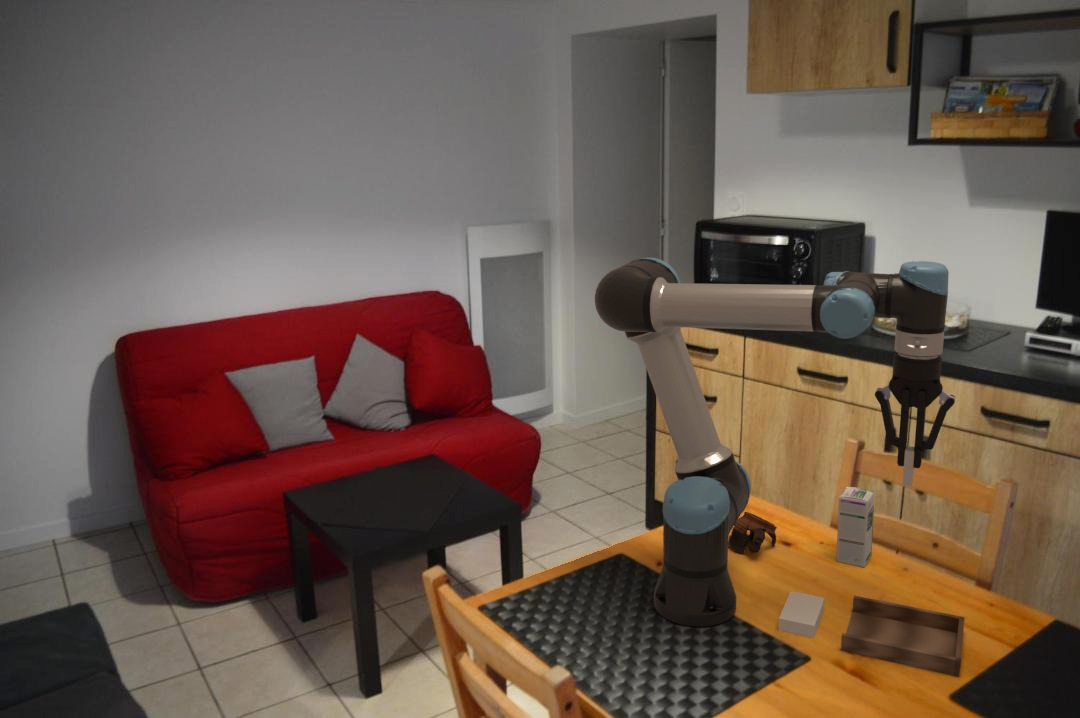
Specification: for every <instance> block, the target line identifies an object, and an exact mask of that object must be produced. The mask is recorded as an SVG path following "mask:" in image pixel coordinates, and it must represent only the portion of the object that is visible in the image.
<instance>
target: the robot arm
mask: <svg viewBox="0 0 1080 718" xmlns="http://www.w3.org/2000/svg"><path fill="white" fill-rule="evenodd" d="M899 268H900V269H899V271H898V273H896V272H895V273H875V272H874V273H873V272H872V273H871V272H854V271H850V270H845V271H831V272H829V273H827V274H826V276H825V279H824V281H823V285H822V284H821V285H815V284H814V285H813V284H761V283H760V284H757V283H756V284H750V283H747V284H744V283H743V284H742V283H684V282H683V283H681V280H680V277H679V276H678V273H677V272H676V270H675V269H674V268H673V266H671V265H670V264H669V263H667V262H666V261H664V260H662V259H659V258H656V257H641V258H637V259H633V260H632V261H629V262H627V263H625V264H624V265H621V266H619V267H617V268H614V269H613V270H610V271H609V272H608V273H606V274H605V275H604V276H603V277H602V278H601V280H600V281H599V283H598V284H597V286H596V290H595V293H594V305H595V310H596V312H597V315H598V316H599V318H600V319H601V321H603V322H604V323H605V324H606V325H607V326H608V327H610V328H612V329H613V330H616V331H618V332H619V331H621V332H624V333H625V334H624V335H625V336H626V339H628V340H630V341H631V342H633V343H636V344H637V346H638V348H639V349H638V350H639V351H640V354H641V357H642V360H643V363H644V366H645V369H646V371H647V374H648V376H649V380H650V382H651V384H652V385H651V386H652V388H653V390H654V393H655V397H656V399H657V401H658V404H659V406H660V409H661V413H662V415H663V418H664V420H665V424H666V426H667V429H668V431H669V435H670V437H671V440H672V443H673V446H674V449H675V451H676V454H677V457H678V459H677V461H676V463H675V465H674V471H675V475H676V478H677V480H676V481H674V482H672V483H671V484H670V485H669V486H668V487H667V488H666V490H665V492H664V495H663V496H664V497H663V503H662V515H663V517H662V519H663V520H662V521H663V523H662V524H663V529H662V530H663V533H662V535H663V541H662V542H663V545H662V546H663V549H662V550H663V555H662V556H663V560H662V561H663V564H662V568H661V571H660V574H659V577H658V579H657V582H656V584H655V588H654V591H653V606H654V608H655V611H656V612H657V613H658V614H659V615H660V616H662V617H663V618H664V619H666V620H668V621H671V622H672V623H674V624H675V623H676V624H679V625H681V626H686V627H687V626H688V627H699V628H700V627H701V628H702V627H703V628H704V627H710V626H711V627H712V626H716V625H719V624H723V623H725V622H726V621H729V620H730V619H731V618H733V616H734V615H735V614H736V610H737V594H736V591H735V588H734V586H733V582H732V579H731V576H730V573H729V569H728V558H729V557H728V555H729V554H728V553H729V546H728V540H729V536H730V534H731V532H732V529H733V527H734V524H735V523H736V521H737V520H738V519H739V518H740V517H741V515H742V514H743V513H744V512H745V509H746V507H747V505H748V503H749V501H750V500H749V499H750V496H751V491H752V486H751V485H752V484H751V479H750V476H749V473H748V471H747V470H746V468H744V466H743V465H742V464H741V463H740V462H738V461H736V458H735V456H734V454H733V450H732V449H731V448H730V447H727V446H725V445H723V444H722V443H721V440H720V438H719V435H718V432H717V429H716V426H715V424H714V420H713V418H712V415H711V413H710V410H709V407H708V403H707V401H706V398H705V395H704V392H703V390H702V387H701V384H700V381H699V378H698V376H697V373H696V370H695V367H694V364H693V361H692V359H691V355H690V354H689V349H688V347H687V344H686V342H685V339H684V335H683V333H682V331H681V328H695V329H697V328H698V329H701V328H702V329H721V330H722V329H723V330H727V329H728V330H729V329H730V330H756V331H757V330H759V331H760V330H761V331H784V332H785V331H787V332H790V331H791V332H816V333H828V334H830V336H832V337H835V338H838V339H852V338H855V337H857V336H859V335H861V334H862V333H863V332H864V331H865V330H867V329H868V328H869V327H870V325H871V324H872V323H873V320H874V318H876V319H877V318H878V319H879V318H880V319H896V325H895V336H894V351H895V352H896V353H895V354H894V355H893V363H892V364H893V366H892V375H891V376H892V377H891V379H890V381H889V382H888V384H887V385H886V386H883V387H878V388H877V389H876V391H875V392H874V397H875V399H876V400H877V401H878V403H879V405H880V410H881V415H882V420H883V426H884V430H885V436H886V440H887V441H886V442H887V444H888V445H889V446H894V447H896V448H897V461H896V462H897V463H896V464H897V466H898V467H903V471H902V472H903V473H902V487H907V488H908V487H909V488H912V487H913V486H912V485H913V482H914V472H915V471H914V470H915V469H920V468H921V467H922V457H923V451H925V450H933V449H934V446H935V445H936V442H937V439H938V438H939V437H938V436H939V434H940V431H941V429H942V426H943V424H944V423H943V422H944V421H945V418H946V415H947V412H948V411H949V410H950V409H951V408H952V407H953V406H954V405H955V403H956V402H955V401H956V396H955V395H954V394H949V393H947V392H946V391H945V390H944V389H943V388H944V386H943V385H942V382H941V374H942V373H941V372H942V363H943V361H942V360H943V358H942V357H941V355H942V354H943V352H944V351H943V350H944V349H943V348H944V341H945V325H946V317H947V308H948V307H947V306H948V305H947V304H948V295H949V273H950V272H949V269H948V267H947V266H946V265H944V264H942V263H940V262H936V261H935V262H934V261H926V260H925V261H923V260H920V261H914V260H913V261H906V262H904V263H902V264H901V265H900V267H899ZM891 393H892V395H893V396H894V398H895V399H896V401H897V402H898V404H899V405H900V406H901V407H900V417H899V418H900V419H899V432H898V433H899V434H898V436H897V434H896V429H895V424H894V423H895V422H894V419H893V413H892V409H891V408H892V407H891V403H890V398H891ZM938 397H939V401H938V404H939V405H940V406H939V408H938V411H937V414H936V416H935V419H934V421H933V424H932V427H931V429H930V433H929V434H928V438H927V439H925V440H924V435H925V423H926V412H927V408H928V407H929V406H930V405H931V404H932V403H933V402H934V401H935V400H936V399H937V398H938ZM911 408H916V421H915V423H916V424H915V434H914V435H915V436H914V446H910V445H908V434H909V422H910V413H911V411H910V409H911Z"/></svg>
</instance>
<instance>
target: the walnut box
mask: <svg viewBox="0 0 1080 718" xmlns="http://www.w3.org/2000/svg"><path fill="white" fill-rule="evenodd" d="M851 612H852V613H851V615H850V619H849V622H848V625H847V628H846V631H845V633H844V632H842V634H841V637H840V638H841V641H840V642H841V643H840V651H841V652H846V653H851V654H855V655H860V656H863V657H869V658H871V659H877V660H882V661H886V662H890V663H895V664H900V665H904V666H909V667H913V668H918V669H922V670H926V671H932V672H936V673H940V674H944V675H947V676H952V677H953V676H954V677H958V678H959V677H960V675H961V664H962V653H963V652H962V651H963V642H964V629H965V617H964V616H960V615H956V614H950V613H945V612H941V611H936V610H930V609H924V608H920V607H916V606H910V605H906V604H905V605H904V604H900V603H895V602H891V601H890V602H889V601H885V600H879V599H875V598H874V599H873V598H870V597H864V596H859V595H853V599H852V611H851Z"/></svg>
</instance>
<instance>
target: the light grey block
mask: <svg viewBox="0 0 1080 718" xmlns="http://www.w3.org/2000/svg"><path fill="white" fill-rule="evenodd" d="M825 600H826V598H825V597H821V596H817V595H811V594H807V593H802V592H797V591H790V592H789V595H788V597H787V599H786V601H785V603H784V606H783V607H782V611H781V613H780V616H779V617H778V631H781V632H784V633H789V634H794V635H799V636H802V637H808V638H811V639H814V638H815V636H816V633H817V631H818V627H819V625H820V622H821V619H822V618H823V617H822V616H823V613H824V610H825Z"/></svg>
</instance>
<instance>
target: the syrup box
mask: <svg viewBox="0 0 1080 718" xmlns="http://www.w3.org/2000/svg"><path fill="white" fill-rule="evenodd" d="M874 507H875V491H874V490H871V489H867V488H863V487H855V486H846V487H845V489H844V490H843V491H842V492H841V493H840V495H839V496H838V509H837V510H838V513H837V539H836V540H837V541H836V561H837V562H838V563H842V564H846V565H849V566H855V567H859V568H860V567H861V568H865V567H866V566H867V564H868V562H869V561H870V559H871V557H872V554H873V552H872V550H873V533H874V510H875V509H874Z"/></svg>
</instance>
